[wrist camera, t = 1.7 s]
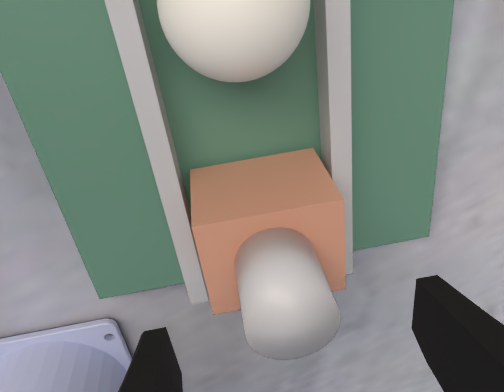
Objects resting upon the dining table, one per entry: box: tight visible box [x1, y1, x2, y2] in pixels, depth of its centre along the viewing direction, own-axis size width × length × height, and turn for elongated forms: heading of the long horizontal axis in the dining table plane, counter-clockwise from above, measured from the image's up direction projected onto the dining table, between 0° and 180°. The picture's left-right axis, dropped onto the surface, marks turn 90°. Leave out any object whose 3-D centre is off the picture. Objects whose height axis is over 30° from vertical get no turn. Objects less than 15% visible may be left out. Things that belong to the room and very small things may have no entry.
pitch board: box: [0, 0, 454, 305], centre depth 15 cm, size 22×16×2 cm
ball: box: [157, 0, 310, 82], centre depth 13 cm, size 4×4×4 cm
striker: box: [190, 148, 346, 360], centre depth 16 cm, size 4×5×7 cm
